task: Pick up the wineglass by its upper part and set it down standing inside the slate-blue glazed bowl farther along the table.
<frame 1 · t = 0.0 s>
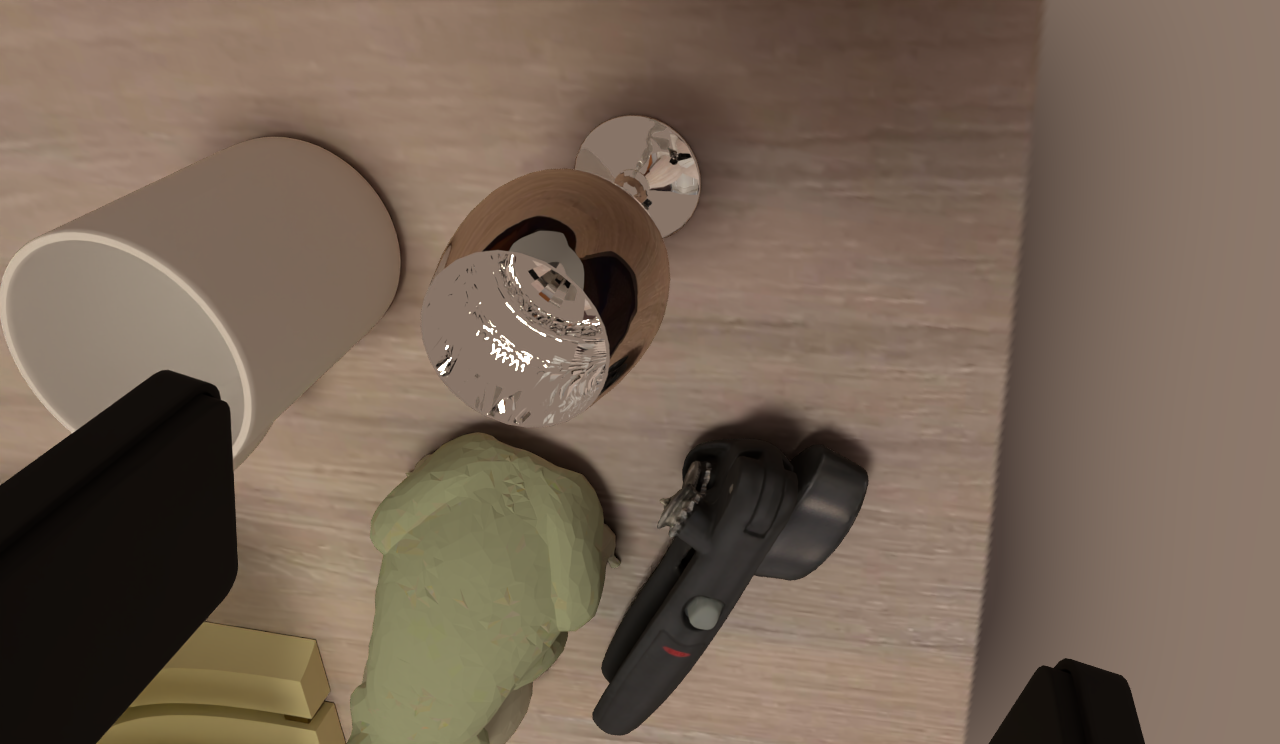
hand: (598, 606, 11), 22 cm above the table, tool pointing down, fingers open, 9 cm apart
wineglass: (638, 178, 32), on the table
figurine: (497, 566, 43), on the table
slatted curved stool: (217, 700, 53), on the table
can opener: (702, 556, 40), on the table
cup: (308, 277, 37), on the table
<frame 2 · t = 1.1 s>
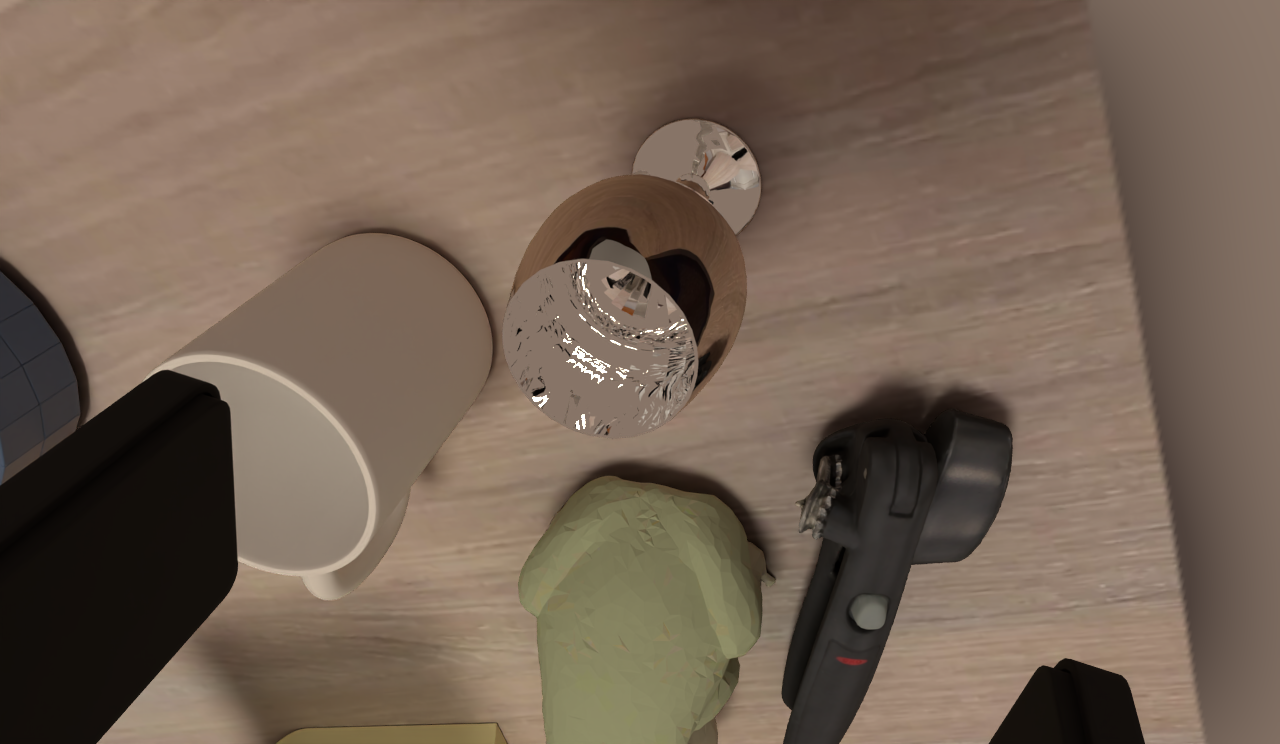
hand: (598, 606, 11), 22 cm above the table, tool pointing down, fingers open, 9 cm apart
wineglass: (696, 182, 31), on the table
figurine: (654, 610, 42), on the table
can opener: (858, 557, 38), on the table
cup: (410, 363, 38), on the table
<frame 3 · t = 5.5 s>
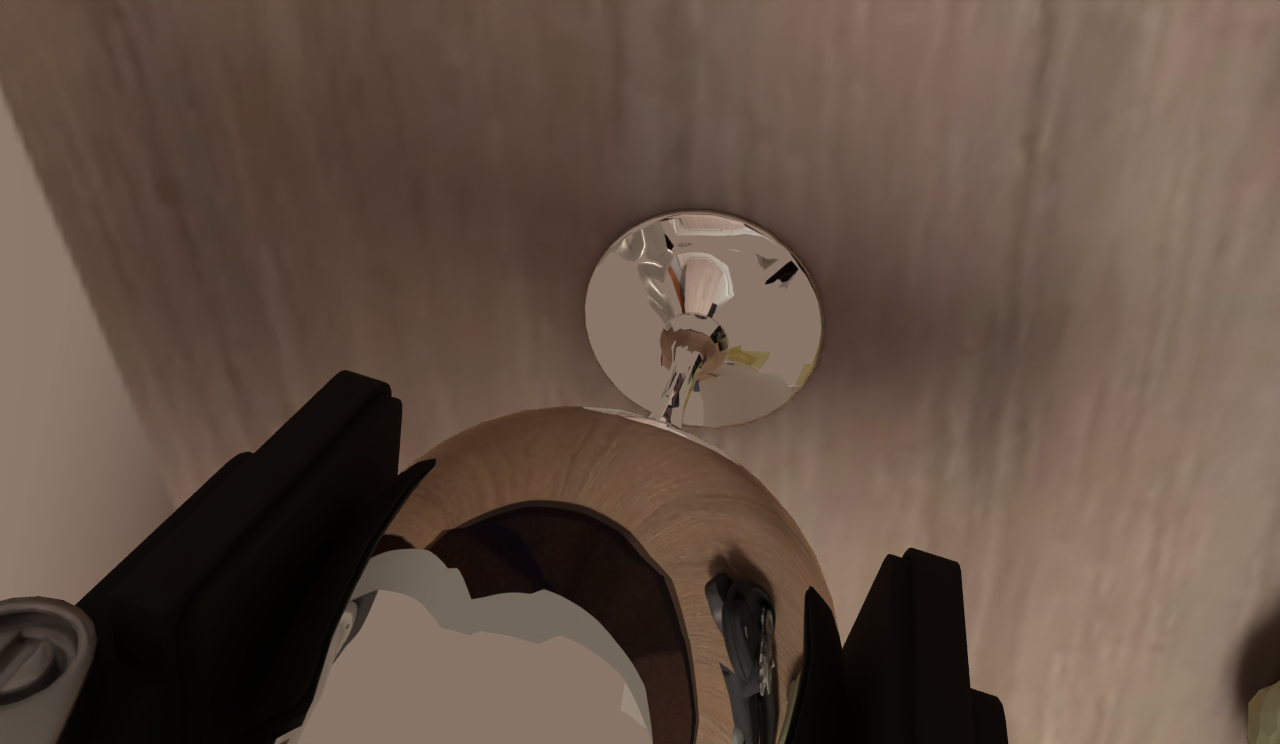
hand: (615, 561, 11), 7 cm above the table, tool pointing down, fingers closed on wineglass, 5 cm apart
wineglass: (702, 319, 17), on the table, touching gripper
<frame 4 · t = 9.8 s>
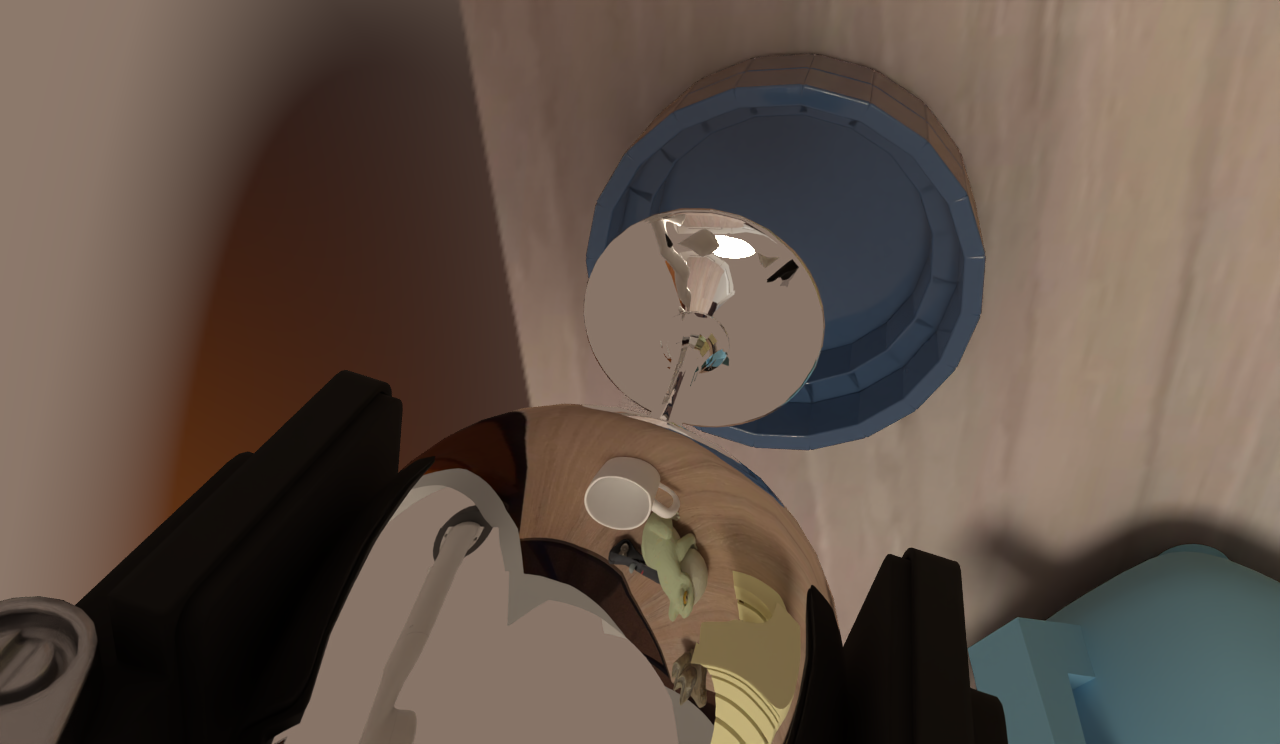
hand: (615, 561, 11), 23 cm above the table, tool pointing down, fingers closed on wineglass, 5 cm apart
wineglass: (703, 318, 17), point 16 cm above the table, touching gripper
bowl: (791, 228, 33), on the table
teapot: (1148, 680, 39), on the table
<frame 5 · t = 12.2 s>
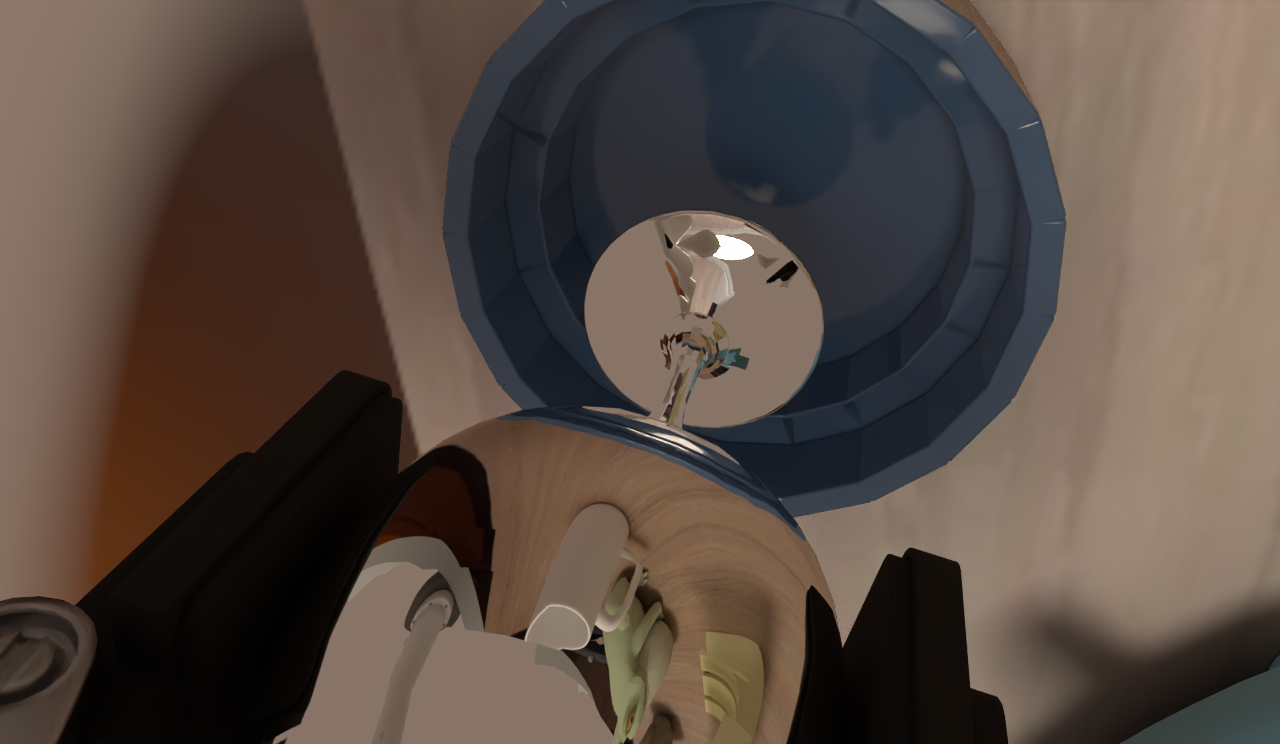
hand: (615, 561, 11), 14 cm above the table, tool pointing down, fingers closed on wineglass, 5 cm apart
wineglass: (703, 319, 17), point 7 cm above the table, touching gripper
bowl: (761, 191, 23), on the table
when the fingers open (8 cm above the table, at t = 14.2 s): wineglass stays where it is, resting on bowl.
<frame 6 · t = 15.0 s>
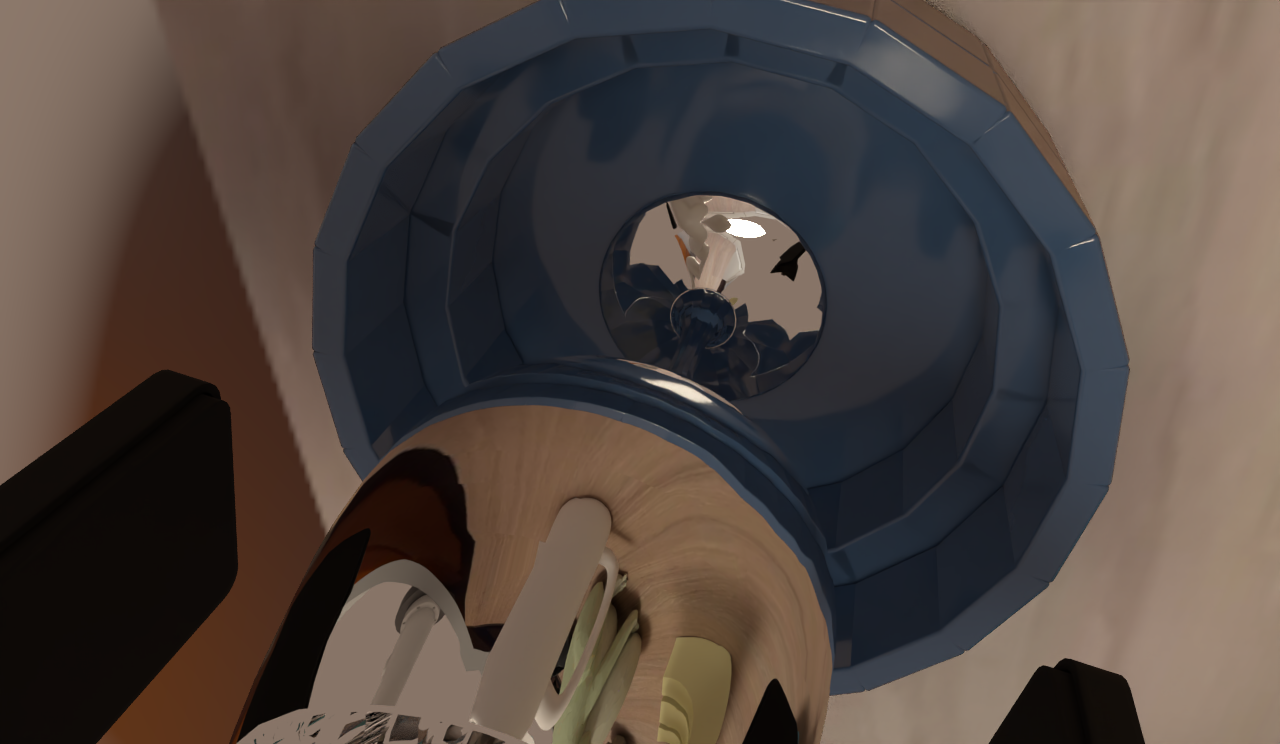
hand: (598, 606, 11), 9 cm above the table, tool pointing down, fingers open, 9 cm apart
wineglass: (712, 296, 18), resting on bowl
bowl: (730, 281, 18), on the table
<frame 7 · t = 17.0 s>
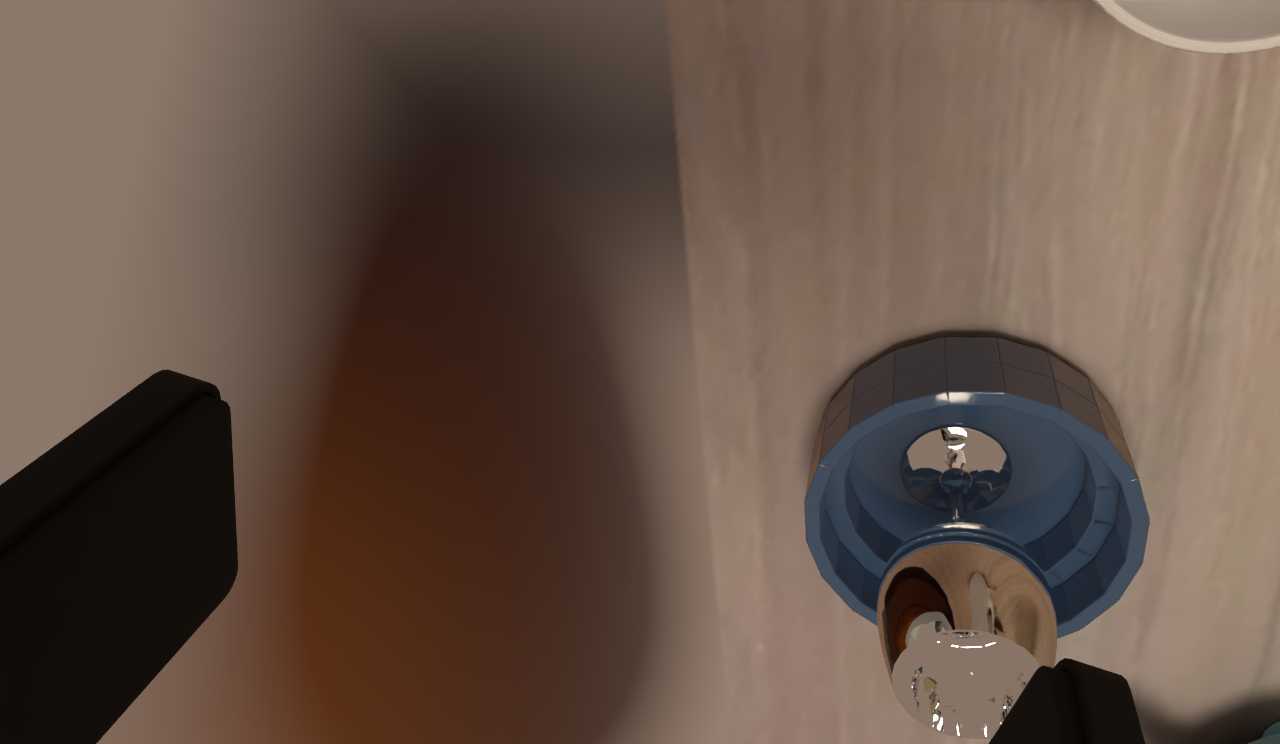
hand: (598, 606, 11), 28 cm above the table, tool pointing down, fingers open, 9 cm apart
wineglass: (954, 466, 39), resting on bowl
bowl: (962, 459, 39), on the table
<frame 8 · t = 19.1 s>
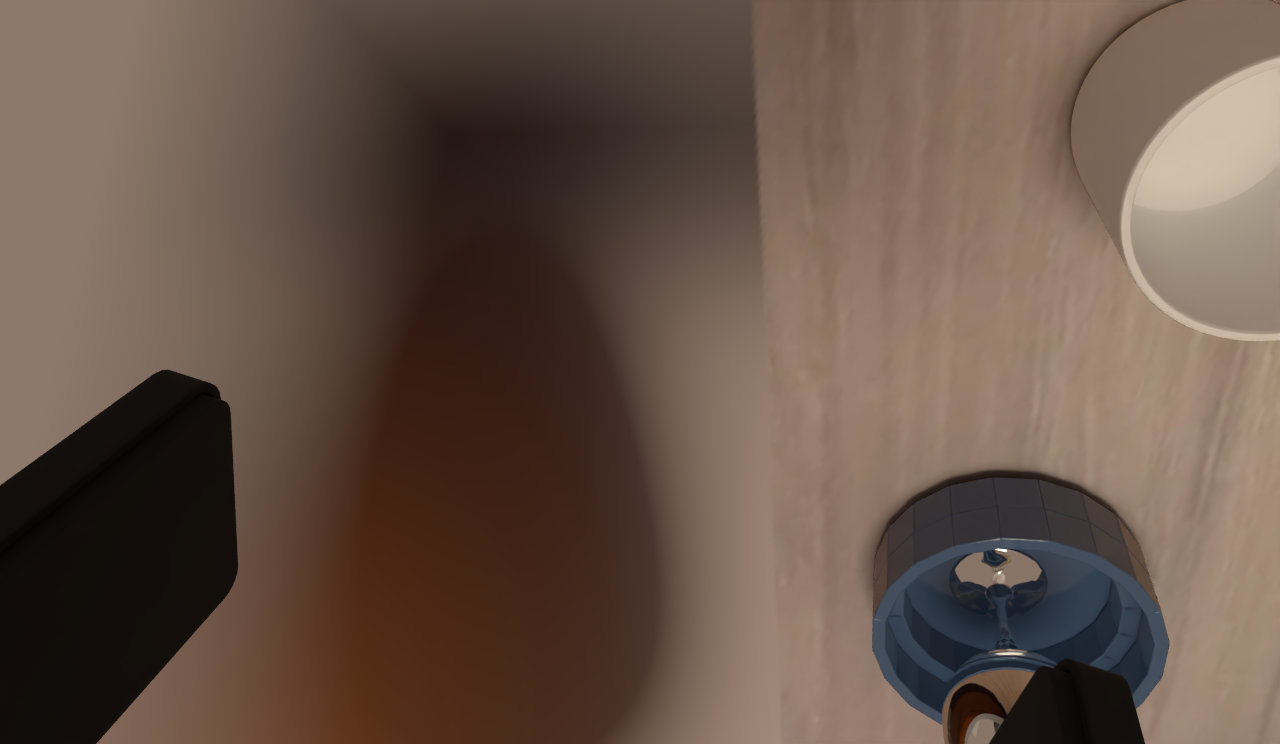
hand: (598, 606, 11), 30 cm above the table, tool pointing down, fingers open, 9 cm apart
wineglass: (997, 579, 45), resting on bowl
bowl: (1003, 572, 46), on the table
cup: (1239, 126, 34), on the table
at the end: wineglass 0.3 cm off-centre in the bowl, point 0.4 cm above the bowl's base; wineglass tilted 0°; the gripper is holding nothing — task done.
